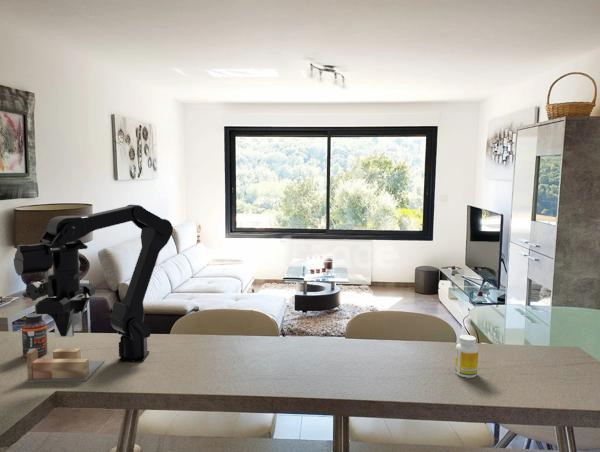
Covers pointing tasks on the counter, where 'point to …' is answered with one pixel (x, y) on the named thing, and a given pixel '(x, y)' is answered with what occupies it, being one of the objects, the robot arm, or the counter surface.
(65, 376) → the block
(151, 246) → the robot arm
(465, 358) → the supplement bottle
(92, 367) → the mat
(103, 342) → the counter surface
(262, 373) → the counter surface
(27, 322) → the supplement bottle
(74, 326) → the rough concrete cube
